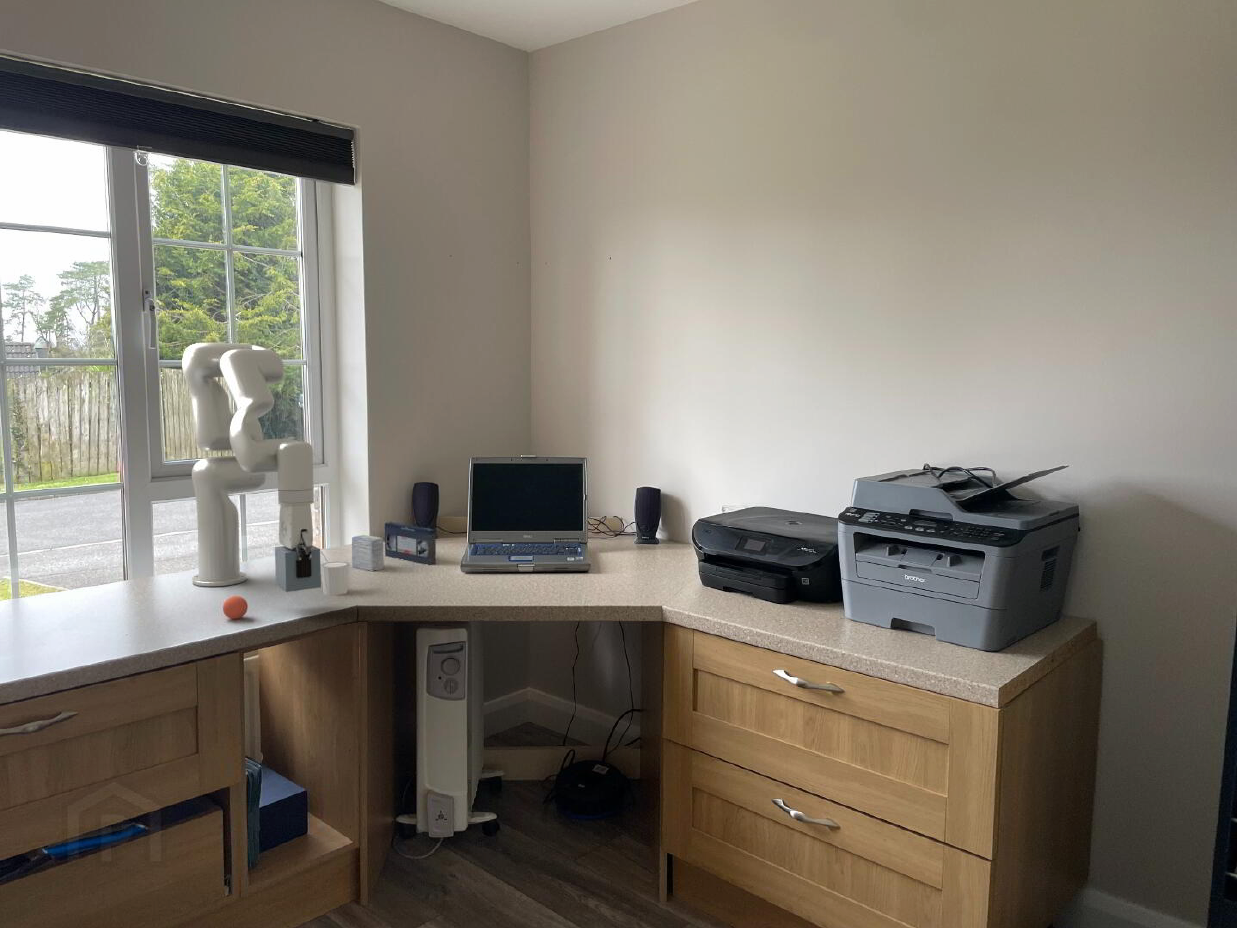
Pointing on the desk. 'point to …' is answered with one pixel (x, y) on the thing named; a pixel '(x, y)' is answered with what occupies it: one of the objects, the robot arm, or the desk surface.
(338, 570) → the white tapered cup
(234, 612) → the ball
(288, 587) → the blue-grey block
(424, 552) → the vhs cassette tape
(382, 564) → the light grey block
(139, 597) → the desk surface
